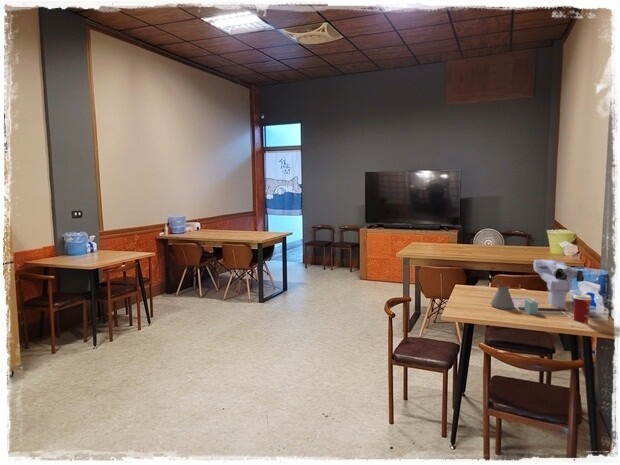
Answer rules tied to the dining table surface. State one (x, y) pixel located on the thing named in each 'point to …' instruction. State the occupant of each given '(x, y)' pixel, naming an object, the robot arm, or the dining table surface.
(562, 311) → the board
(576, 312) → the paper cup
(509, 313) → the dining table surface
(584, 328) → the dining table surface
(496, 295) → the coffee pot
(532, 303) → the teal and beige block
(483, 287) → the dining table surface
